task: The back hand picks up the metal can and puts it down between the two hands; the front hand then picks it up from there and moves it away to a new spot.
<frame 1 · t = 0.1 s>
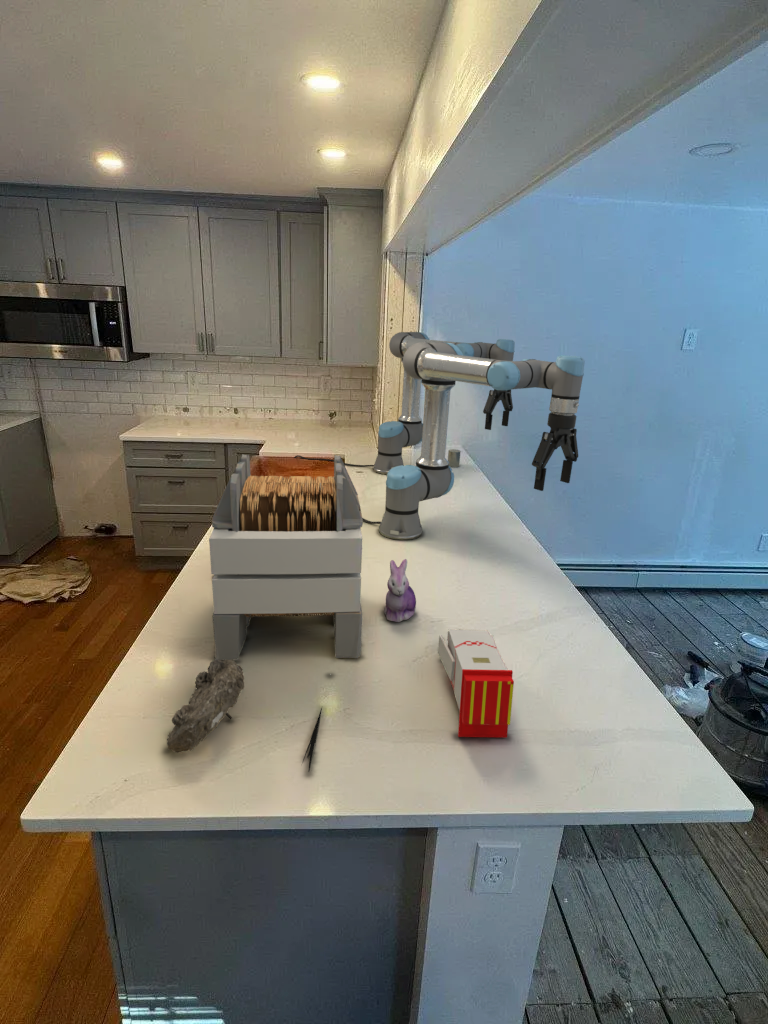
front hand: (551, 485, 166), 28 cm above the counter, tool pointing down, fingers open, 13 cm apart
back hand: (496, 427, 246), 28 cm above the counter, tool pointing down, fingers open, 13 cm apart
figurine: (399, 614, 147), on the counter
fossil: (212, 717, 108), on the counter
record crate: (291, 621, 142), on the counter
can: (453, 465, 291), on the counter
toy: (469, 691, 119), on the counter
feather: (319, 719, 109), on the counter
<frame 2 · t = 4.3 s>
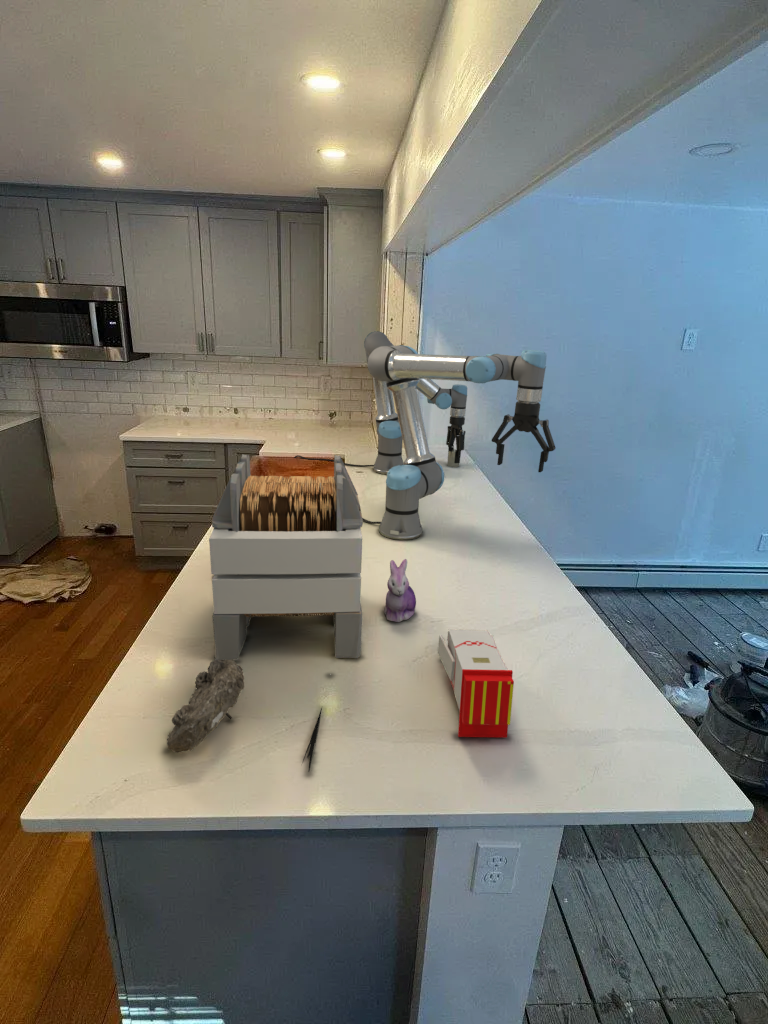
front hand: (519, 467, 184), 28 cm above the counter, tool pointing down, fingers open, 13 cm apart
back hand: (453, 461, 290), 2 cm above the counter, tool pointing down, fingers closed on can, 6 cm apart
can: (453, 465, 291), on the counter, touching back hand
everything else where it was.
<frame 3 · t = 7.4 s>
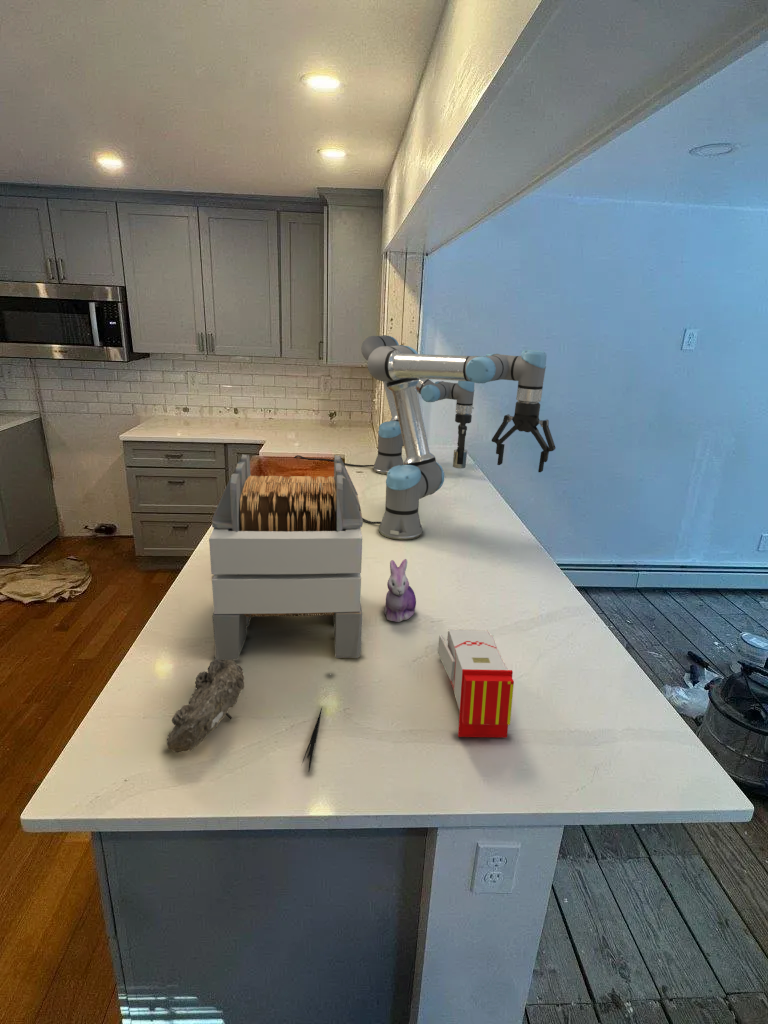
front hand: (519, 467, 184), 28 cm above the counter, tool pointing down, fingers open, 13 cm apart
back hand: (459, 462, 270), 7 cm above the counter, tool pointing down, fingers closed on can, 6 cm apart
can: (459, 466, 271), point 5 cm above the counter, touching back hand
everything else where it was.
when the back hand's fingers open (4 cm above the counter, at t = 10.7 s): can drops 2 cm, on the counter.
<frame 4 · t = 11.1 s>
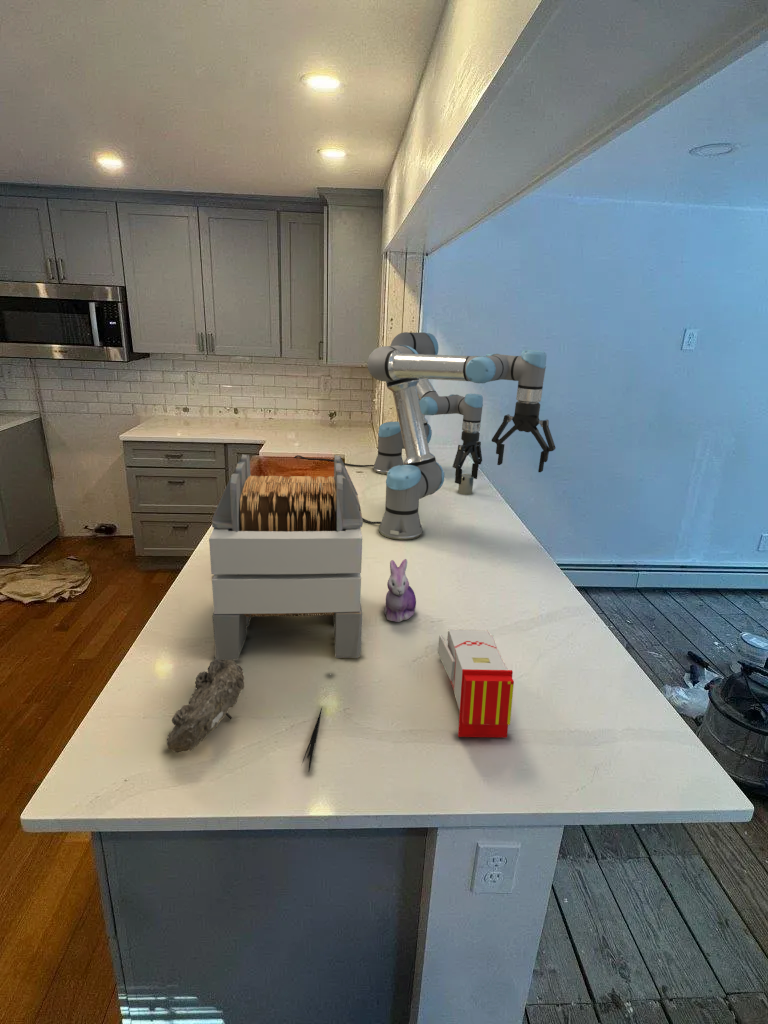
front hand: (519, 467, 184), 28 cm above the counter, tool pointing down, fingers open, 13 cm apart
back hand: (466, 480, 247), 5 cm above the counter, tool pointing down, fingers open, 11 cm apart
can: (465, 492, 249), on the counter
everything else where it was.
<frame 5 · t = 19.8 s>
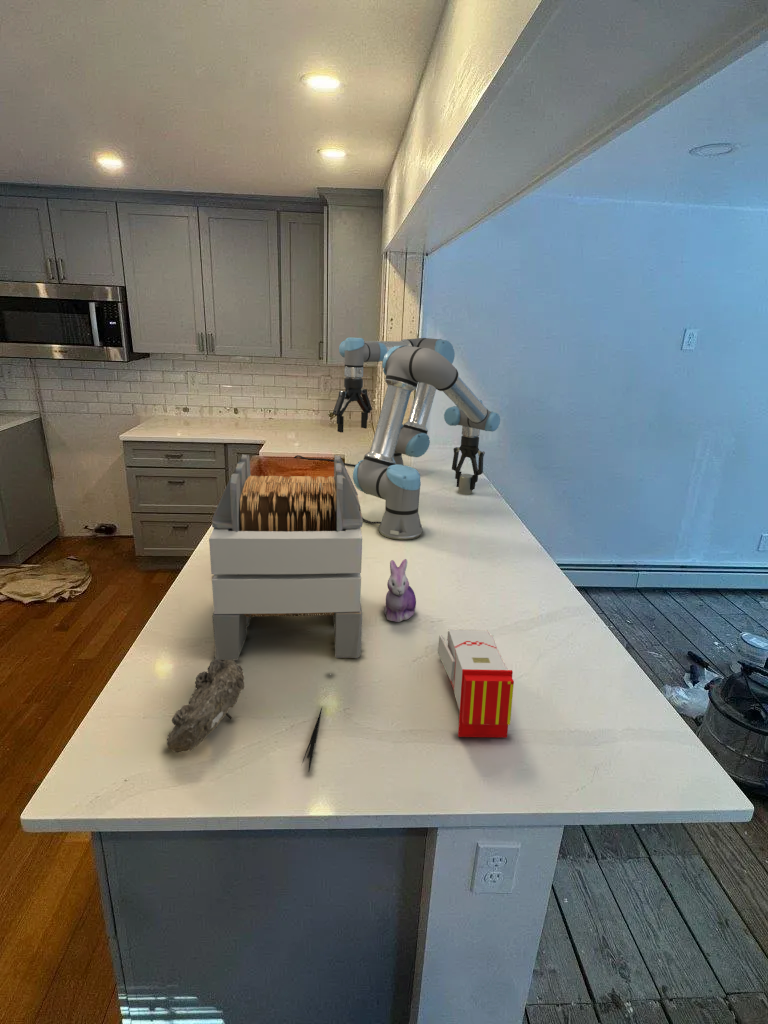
front hand: (465, 487, 248), 2 cm above the counter, tool pointing down, fingers closed on can, 6 cm apart
back hand: (352, 430, 235), 26 cm above the counter, tool pointing down, fingers open, 13 cm apart
can: (465, 492, 249), on the counter, touching front hand
everything else where it was.
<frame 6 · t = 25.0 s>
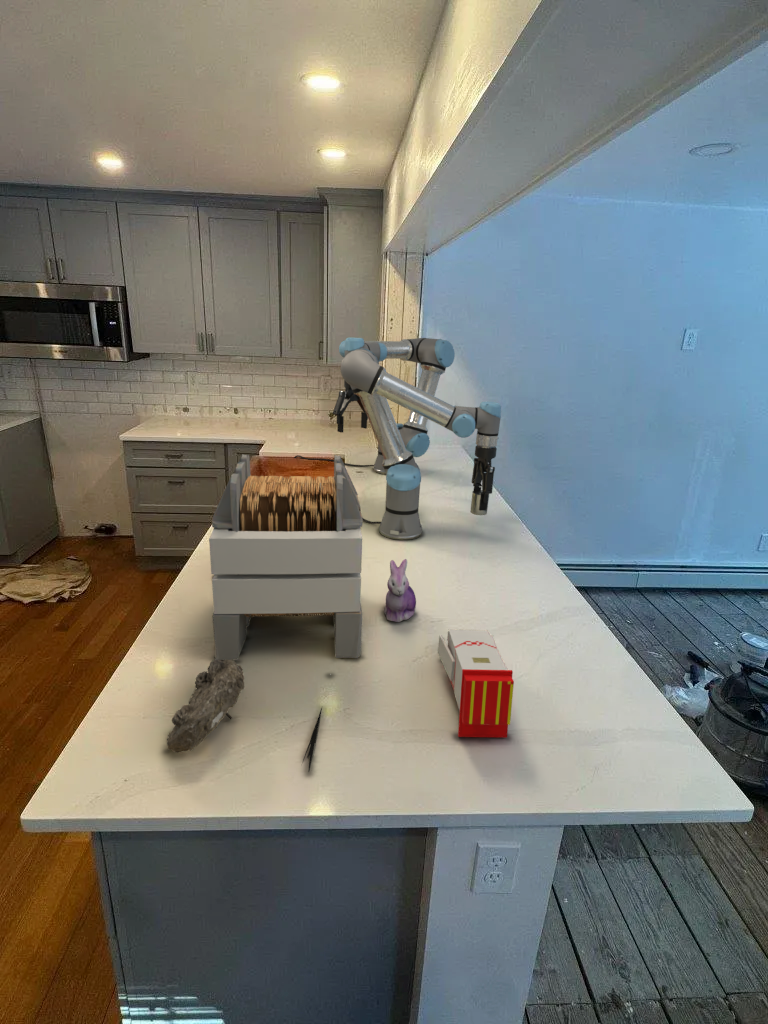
front hand: (479, 506, 210), 7 cm above the counter, tool pointing down, fingers closed on can, 6 cm apart
back hand: (352, 430, 235), 26 cm above the counter, tool pointing down, fingers open, 13 cm apart
can: (478, 512, 211), point 5 cm above the counter, touching front hand
everything else where it was.
when the front hand's fingers open (4 cm above the counter, at t = 30.7 s): can drops 2 cm, on the counter.
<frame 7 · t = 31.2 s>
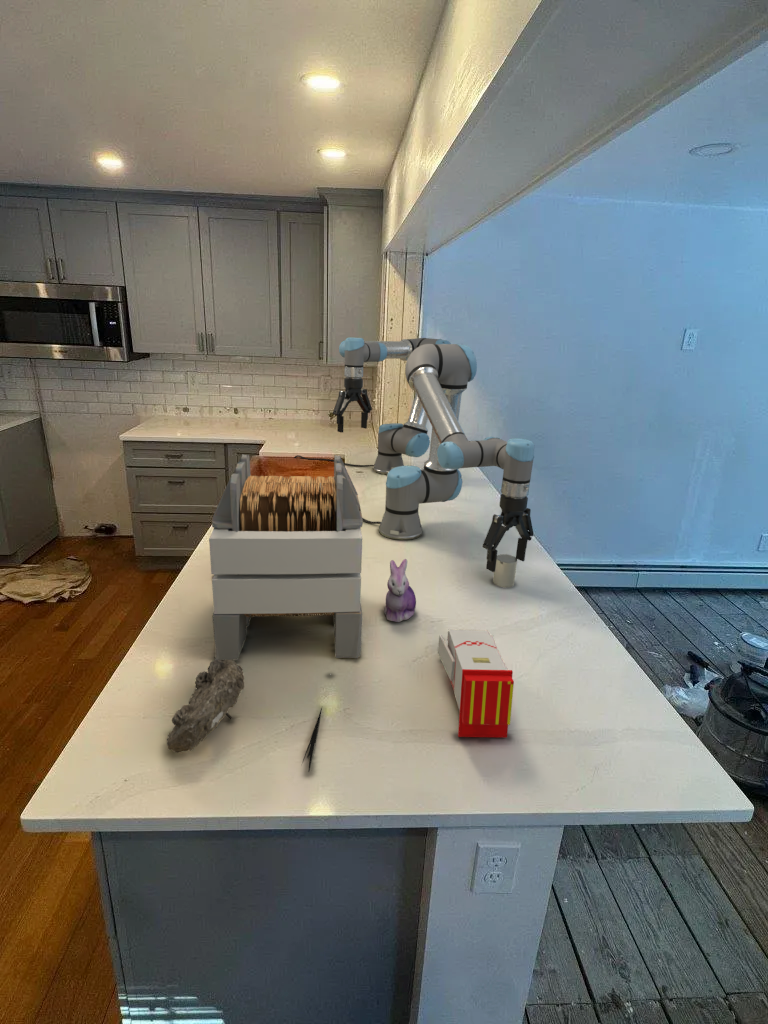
front hand: (505, 564, 165), 6 cm above the counter, tool pointing down, fingers open, 12 cm apart
back hand: (352, 430, 235), 26 cm above the counter, tool pointing down, fingers open, 13 cm apart
can: (503, 582, 167), on the counter
everything else where it was.
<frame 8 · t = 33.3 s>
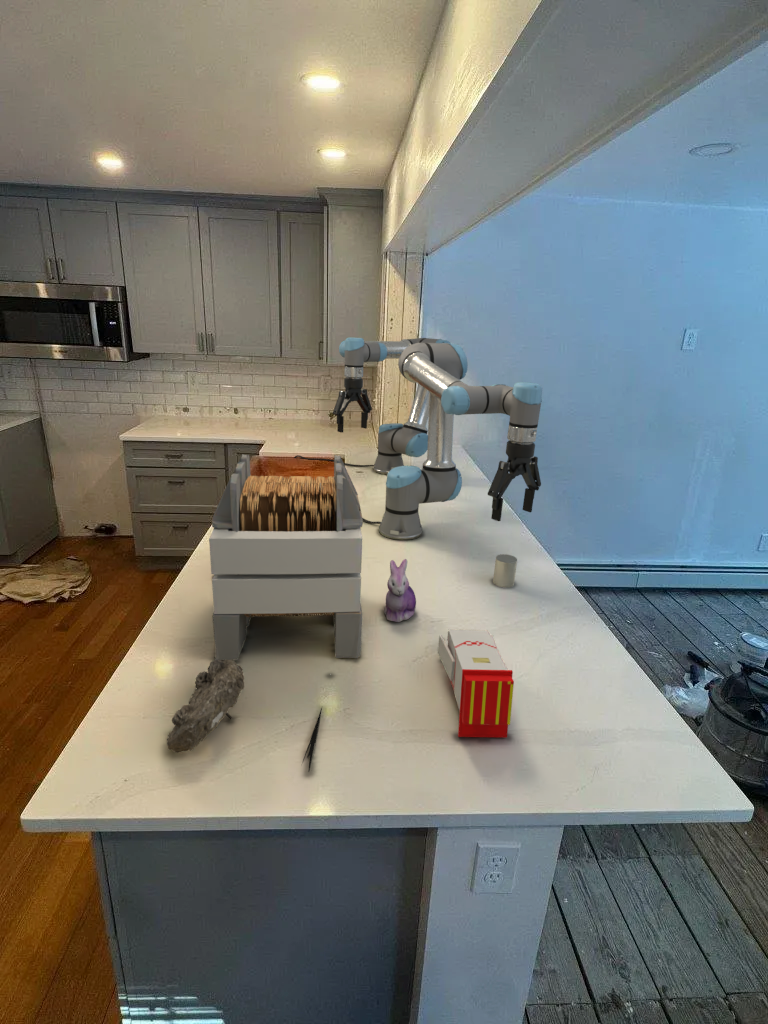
front hand: (511, 515, 160), 21 cm above the counter, tool pointing down, fingers open, 13 cm apart
back hand: (352, 430, 235), 26 cm above the counter, tool pointing down, fingers open, 13 cm apart
nothing on the counter moved.
at the end: can inside the target area (0.1 cm from its centre), on the counter; can tilted 0°; the two hands never held the can at the same time; the front hand is holding nothing; the back hand is holding nothing; can at rest at the end (0.0 cm/s) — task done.
